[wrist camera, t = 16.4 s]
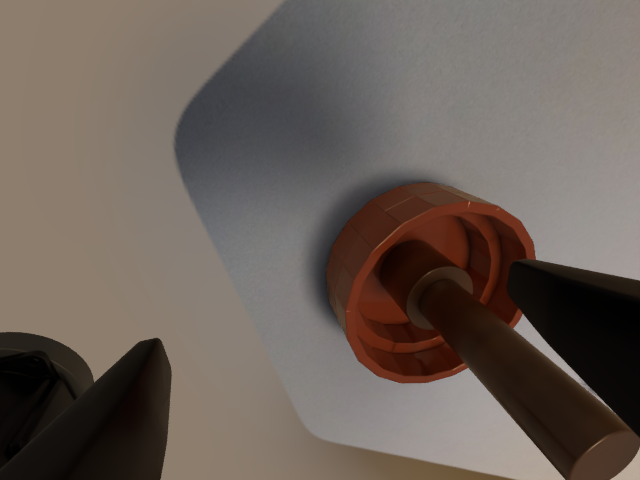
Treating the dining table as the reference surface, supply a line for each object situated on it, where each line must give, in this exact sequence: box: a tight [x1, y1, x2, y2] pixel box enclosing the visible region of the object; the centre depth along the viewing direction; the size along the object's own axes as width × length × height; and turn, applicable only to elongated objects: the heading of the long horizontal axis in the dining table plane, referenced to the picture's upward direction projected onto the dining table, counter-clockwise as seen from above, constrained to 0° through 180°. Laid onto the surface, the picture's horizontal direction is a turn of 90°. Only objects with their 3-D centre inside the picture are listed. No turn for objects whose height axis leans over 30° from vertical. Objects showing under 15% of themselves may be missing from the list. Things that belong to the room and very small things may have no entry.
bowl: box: [326, 182, 536, 383], centre depth 22 cm, size 12×12×5 cm
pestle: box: [380, 240, 640, 480], centre depth 17 cm, size 4×4×14 cm
